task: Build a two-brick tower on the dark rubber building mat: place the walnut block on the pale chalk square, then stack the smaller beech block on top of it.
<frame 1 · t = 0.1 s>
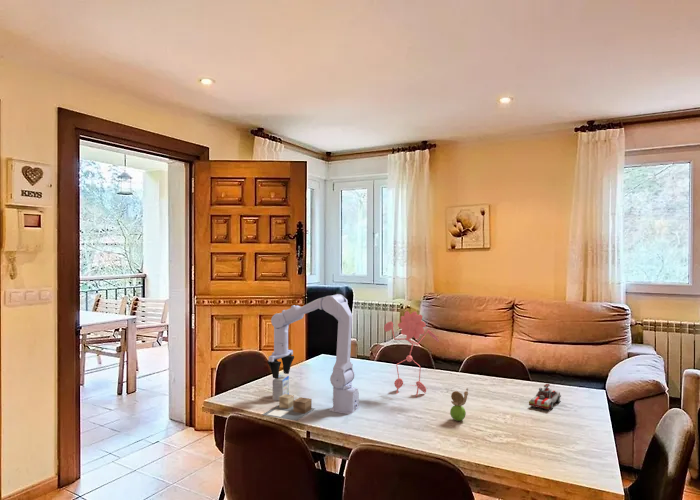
hand: (281, 375, 186), 10 cm above the table, fingers open, 7 cm apart
building mat: (289, 412, 172), on the table
figurine: (412, 391, 199), on the table
beech brick: (286, 406, 177), resting on building mat
toy car: (545, 405, 182), on the table
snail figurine: (459, 421, 164), on the table
walnut brick: (302, 410, 173), resting on building mat
medicine box: (280, 399, 188), on the table
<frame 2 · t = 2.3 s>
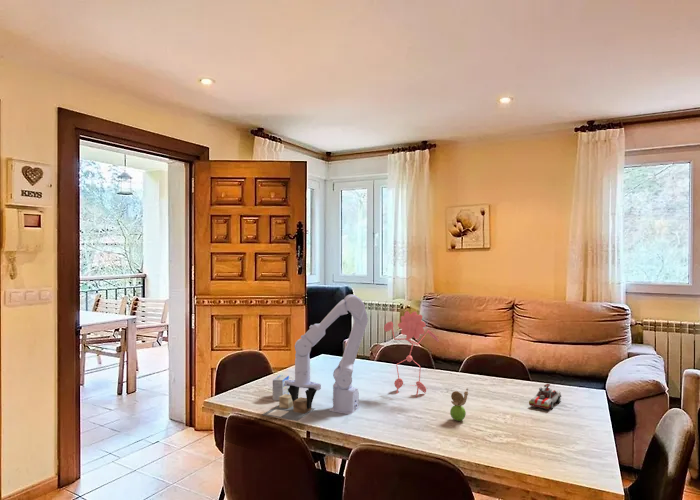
hand: (302, 406, 173), 2 cm above the table, fingers closed on walnut brick, 5 cm apart
walnut brick: (302, 410, 173), resting on building mat, touching gripper
everything else where it was.
when the fingers open (3 cm above the table, at t = 5.3 s): walnut brick stays where it is, resting on building mat.
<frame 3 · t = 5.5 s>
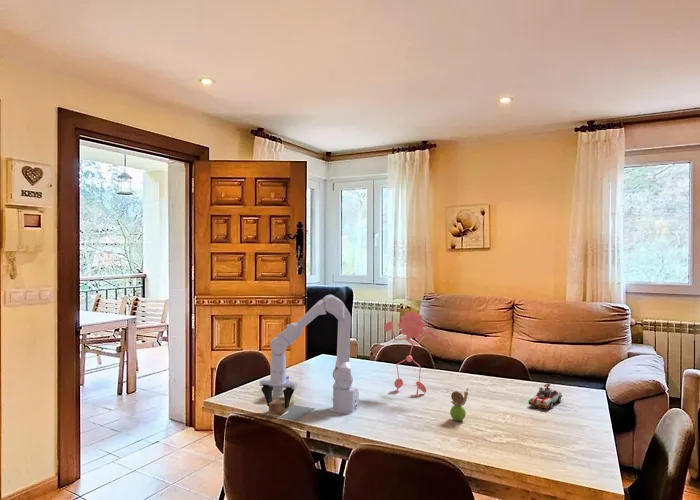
hand: (278, 406, 170), 3 cm above the table, fingers open, 7 cm apart
walnut brick: (278, 412, 170), resting on building mat
everything else where it was.
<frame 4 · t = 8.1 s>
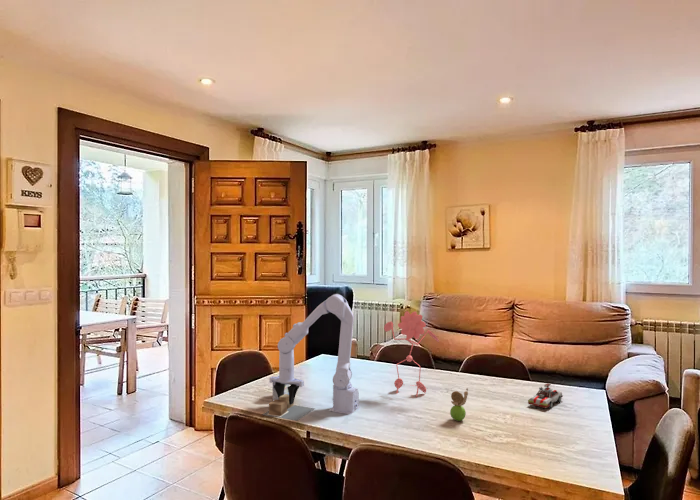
hand: (286, 402, 177), 2 cm above the table, fingers closed on beech brick, 4 cm apart
beech brick: (286, 406, 177), resting on building mat, touching gripper
when the fingers open (7 cm above the table, at t = 10.7 s): beech brick stays where it is, resting on walnut brick.
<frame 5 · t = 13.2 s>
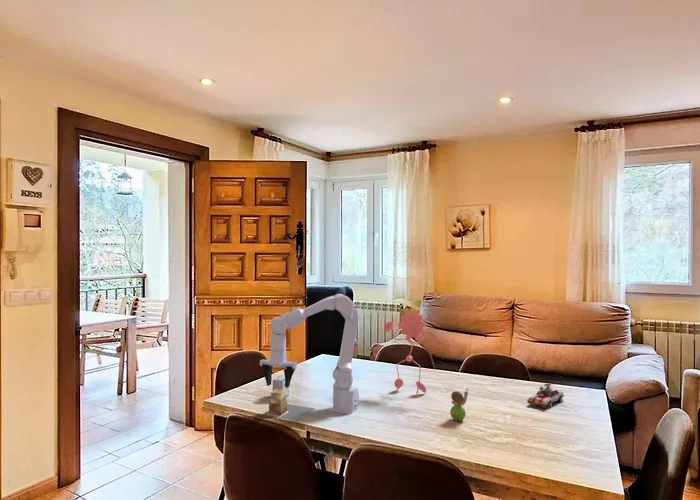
hand: (278, 386, 170), 10 cm above the table, fingers open, 7 cm apart
beech brick: (278, 402, 170), point 4 cm above the table, touching walnut brick
walnut brick: (278, 412, 170), resting on building mat, touching beech brick
at the end: walnut brick 0.0 cm from the target spot on the building mat, point 0.4 cm above the building mat's base; beech brick 0.1 cm off-centre on the walnut brick, point 4.0 cm above the walnut brick's base; beech brick tilted 0° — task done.
